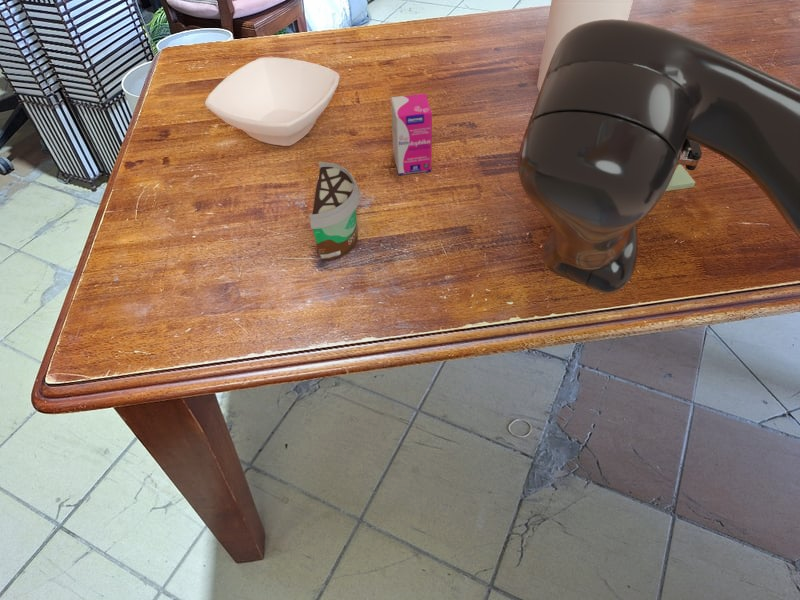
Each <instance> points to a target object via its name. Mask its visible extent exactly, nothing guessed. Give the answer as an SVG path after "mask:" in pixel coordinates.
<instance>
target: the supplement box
mask: <svg viewBox="0 0 800 600" xmlns="http://www.w3.org/2000/svg"><path fill="white" fill-rule="evenodd" d="M390 108H391V109H390V110H391V132H392V133H391V134H392V152H393V160H394V164H395V167H396V172H397V175H398V176H404V175H409V174H411V175H412V174H418V173H429V172H431V171H432V146H433V144H432V143H433V142H432V141H433V140H432V139H433V111H432V108H431V106H430V103H429V100H428V97H427V94H426V93H418V94H408V95H400V96H391V97H390Z"/></svg>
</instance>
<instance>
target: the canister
mask: <svg viewBox="0 0 800 600" xmlns="http://www.w3.org/2000/svg"><path fill="white" fill-rule="evenodd" d="M550 2H551V3H550V7H549V8H550V9H549V14H548V17H547V19H548V20H547V25H546V29H545V36H544V43H543V49H542V54H541V60H540V66H539V71H538V78H537V83H536V88H537V91H538V92H540V90H541V87H542V84H543V81H544V78H545V76H546V73H547V70H548V68H549V65H550V62H551V59H552V57H553V54H554V52H555V50H556V48H557V46H558V44H559V42H560V41H561V39H562V38H563V37H564V36H565V35H566V34H567V33H568V32H569V31H571V30H572V29H574V28H575V27H577V26H579V25H581V24H585V23H588V22H592V21H596V20H609V19H615V20H628V21H629V17H630V14H631V11H632V7H633V3H634V0H551V1H550Z"/></svg>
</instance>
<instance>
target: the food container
mask: <svg viewBox="0 0 800 600" xmlns="http://www.w3.org/2000/svg"><path fill="white" fill-rule="evenodd" d="M318 168H319V173H318V178H317V184H316V188H315V194H314V201H313V207H312V212H311V214H308V216H309V224H310V225H309V226H310V229H311V230H312V231H313V235H314V238H315V242H316V247H317V250H318V253H319V257H320V261H321V262H322V263H323V262H331V261H336V260H339V259H341V258H342V257H344V256H346V255H348V254H349V253H350V252H351V251H352V250H353V249H354V248H355V247H356V245H357V243H358V219H357V218H358V217H357V207H358V206H359V203H360V201H361V192H360V188H359V186H358V184H357V181H356V179H355V178H354V176H353V175H352V174H351V172H350V171H348V170H347V168H345V167H343V166H341V165H339V164H336V163H332V162H326V161H318Z"/></svg>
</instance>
